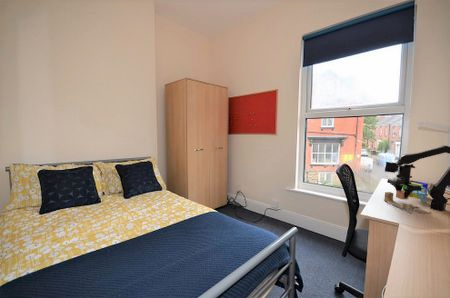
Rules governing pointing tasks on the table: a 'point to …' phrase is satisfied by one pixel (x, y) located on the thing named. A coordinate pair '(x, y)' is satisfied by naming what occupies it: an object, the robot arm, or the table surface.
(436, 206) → the robot arm
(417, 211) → the lane bed
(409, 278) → the table surface
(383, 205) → the table surface
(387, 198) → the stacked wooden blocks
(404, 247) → the table surface
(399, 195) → the cube
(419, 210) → the pair of tan slabs
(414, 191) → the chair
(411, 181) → the puzzle toy
